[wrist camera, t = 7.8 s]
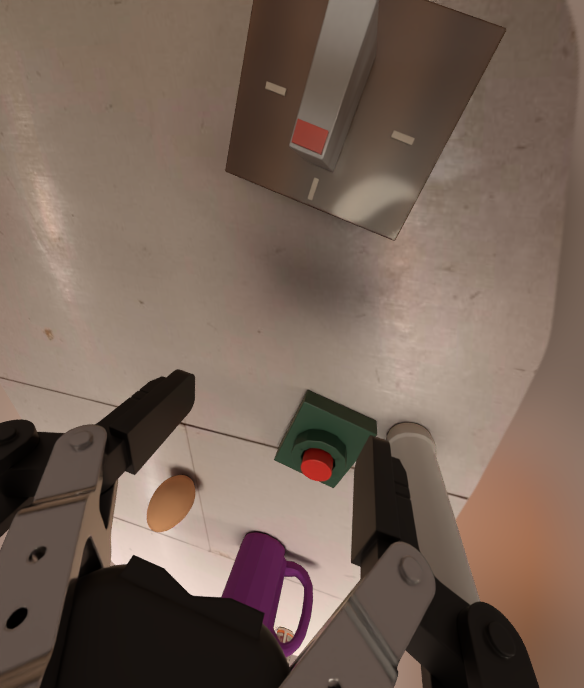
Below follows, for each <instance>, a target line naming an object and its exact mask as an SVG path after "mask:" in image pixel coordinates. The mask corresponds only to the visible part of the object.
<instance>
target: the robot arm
mask: <svg viewBox="0 0 584 688" xmlns="http://www.w3.org/2000/svg"><path fill="white" fill-rule="evenodd" d="M194 401H195V376H194V374H191V373H188V372H185V371H182V370H179V369H177V370H175V371H173V372H172V373H171V374H170V375H169V376H168V377H163V376H162V377H159V378H157V379H155V380H152V381H150V382H148V383H147V384H146V385H145V386H143V387H142V388H141V389H140V391H137V392H136V393H135V394H133V395H132V397H131V398H128V399H127V400H126V401H125V402H123V403H122V404H121V405H120V406H118V407H117V408H116V409H115V410H113V411H112V412H111V413H110V414H108V415H107V416H106V417H105V418H103V419H102V420H101V421H100V422H98V423H97V424H95V425H93V424H90V425H83V426H79V427H76V428H73V429H71V430H69V431H68V432H66V433H50V432H37V430H36V428H35V426H34V424H33V423H32V422H30V421H28V420H11V421H6V422H2V423H0V537H1V536H2V535H3V534H4V533H5V532H6V531H7V530H8V529H9V531H8V533H7V535H6V538H5V540H4V542H3V545H2V547H1V550H0V688H394V686H395V683H396V680H397V677H398V670H397V666H398V663H399V661H400V659H401V657H402V655H403V653H404V651H405V650H406V651H407V652H408V653H409V654H410V655H411V656H412V657H413V658H415V659H416V660H417V661H418V662H419V663H420V664H421V671H422V683H423V688H539V685H538V682H537V679H536V676H535V673H534V670H533V667H532V664H531V661H530V658H529V655H528V653H527V650H526V647H525V645H524V643H523V641H522V639H521V637H520V636H519V634H518V632H517V631H516V630H515V628H514V627H513V625H512V624H511V623H510V622H509V621H508V619H507V618H506V617H505V616H504V615H503V614H502V613H501V612H500V611H498V610H497V609H496V608H494V607H493V606H491V605H489V604H487V603H485V602H480V601H479V602H475V603H473V604H471V605H470V604H469V603H467V602H466V601H465V600H463V599H462V598H461V597H460V596H458V595H457V594H456V593H454V592H453V591H452V590H450V589H449V588H448V587H447V586H445V585H444V584H443V583H442V582H440V581H439V580H438V579H437V578H436V577H435V576H434V574H433V572H432V570H431V567H430V565H429V564H428V562H427V560H426V559H425V558H424V556H423V555H422V554H421V552H420V549H419V545H418V539H417V533H416V527H415V521H414V515H413V509H412V503H411V500H410V498H411V496H410V490H409V488H408V487H409V484H408V478H407V472H406V470H405V468H404V467H403V465H402V463H401V461H400V459H398V458H395V457H392V456H391V447H390V443H389V441H386V440H384V439H381V438H378V437H375V436H372V435H370V436H369V437H368V439H367V441H366V443H365V445H364V447H363V449H362V450H361V452H360V454H359V456H358V458H357V461H356V465H355V470H354V492H353V520H352V547H351V563H352V564H355V565H357V566H360V567H361V579H360V581H359V582H358V583H357V584H356V586H355V587H354V588H353V589H352V591H351V592H350V593H349V594H348V595H347V597H346V598H345V599H344V600H343V602H342V603H341V604H340V605H339V607H338V608H337V609H336V610H335V612H334V613H333V614H332V615H331V617H330V618H329V619H328V620H327V622H326V623H325V624H324V625H323V627H322V628H321V629H320V630H319V631H318V633H317V634H316V635H315V636H314V637H313V639H312V640H311V641H310V642H309V644H308V645H307V646H306V647H305V648H304V650H303V651H302V652H301V653H300V655H299V656H298V657H297V659H296V660H295V661H294V662H293V663H292V665H291V666H290V667H289V664H288V661H287V659H286V657H285V654H284V652H283V650H282V648H281V646H280V645H279V643H278V641H277V640H276V638H275V637H274V635H273V634H272V633H271V631H270V630H269V629H268V628H267V627H266V626H265V625H264V624H263V619H264V615H265V613H264V612H261V611H259V610H257V609H255V608H252V607H250V606H248V605H246V604H243V603H241V602H239V601H237V600H234V599H232V598H221V597H203V596H193V595H190V594H189V593H188V592H187V591H186V590H185V589H184V588H183V587H182V586H181V585H180V584H179V583H178V582H177V581H176V580H175V579H174V578H173V577H172V576H171V575H170V574H169V573H168V572H167V571H166V570H165V569H164V568H162V567H160V566H157V565H155V564H153V563H151V562H148V561H146V560H144V559H142V558H139V557H137V556H135V555H133V556H132V558H131V559H130V561H129V562H128V564H123V565H114V566H110V562H111V529H112V522H113V515H114V508H115V501H116V494H117V487H118V478H119V477H120V476H121V475H122V474H123V473H124V472H125V471H126V472H129V473H131V474H134V475H135V474H136V473H137V472H138V471H139V470H140V469H141V468H142V466H143V465H144V464H145V463H146V462H147V461H148V459H149V458H150V457H151V456H152V455H153V454H154V453H155V451H156V450H157V449H158V448H159V447H160V446H161V444H162V443H163V442H164V441H165V440H166V439H167V437H168V436H169V435H170V434H171V433H172V432H173V431H174V429H175V428H176V427H177V426H178V425H179V424H180V422H181V421H182V420H183V419H184V418H185V417H186V416H187V414H188V413H189V412H190V411H191V409H192V407H193V404H194Z"/></svg>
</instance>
